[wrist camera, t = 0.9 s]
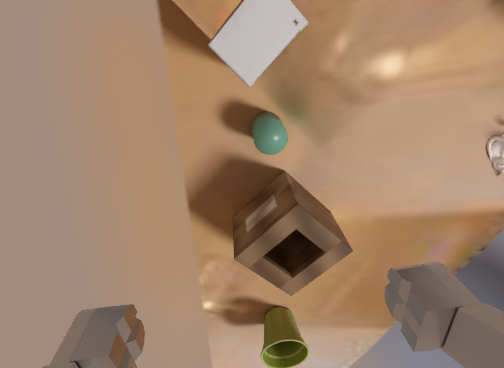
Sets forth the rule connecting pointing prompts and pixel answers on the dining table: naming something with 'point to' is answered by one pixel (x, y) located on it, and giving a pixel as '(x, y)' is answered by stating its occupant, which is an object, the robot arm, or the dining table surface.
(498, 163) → the white tentacle figurine
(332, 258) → the ticket box
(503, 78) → the dining table surface
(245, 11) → the small box
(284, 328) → the plant pot
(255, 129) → the teal rounded cylinder
